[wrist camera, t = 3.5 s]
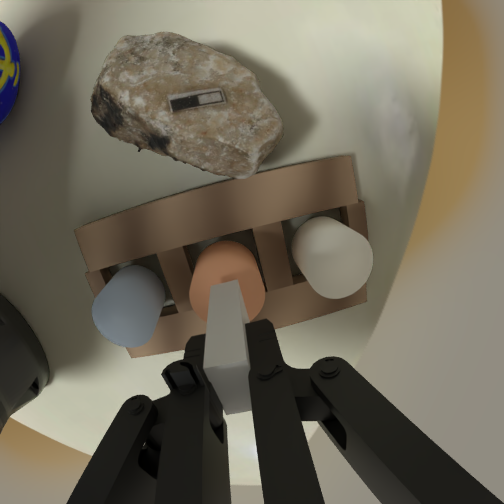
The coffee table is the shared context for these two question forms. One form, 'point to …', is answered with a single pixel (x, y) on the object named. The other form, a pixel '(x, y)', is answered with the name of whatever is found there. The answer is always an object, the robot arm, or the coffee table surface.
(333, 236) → the button cream
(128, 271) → the button slate
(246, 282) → the button terracotta
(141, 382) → the coffee table surface
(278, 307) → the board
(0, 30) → the ornament
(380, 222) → the coffee table surface
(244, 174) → the stone
